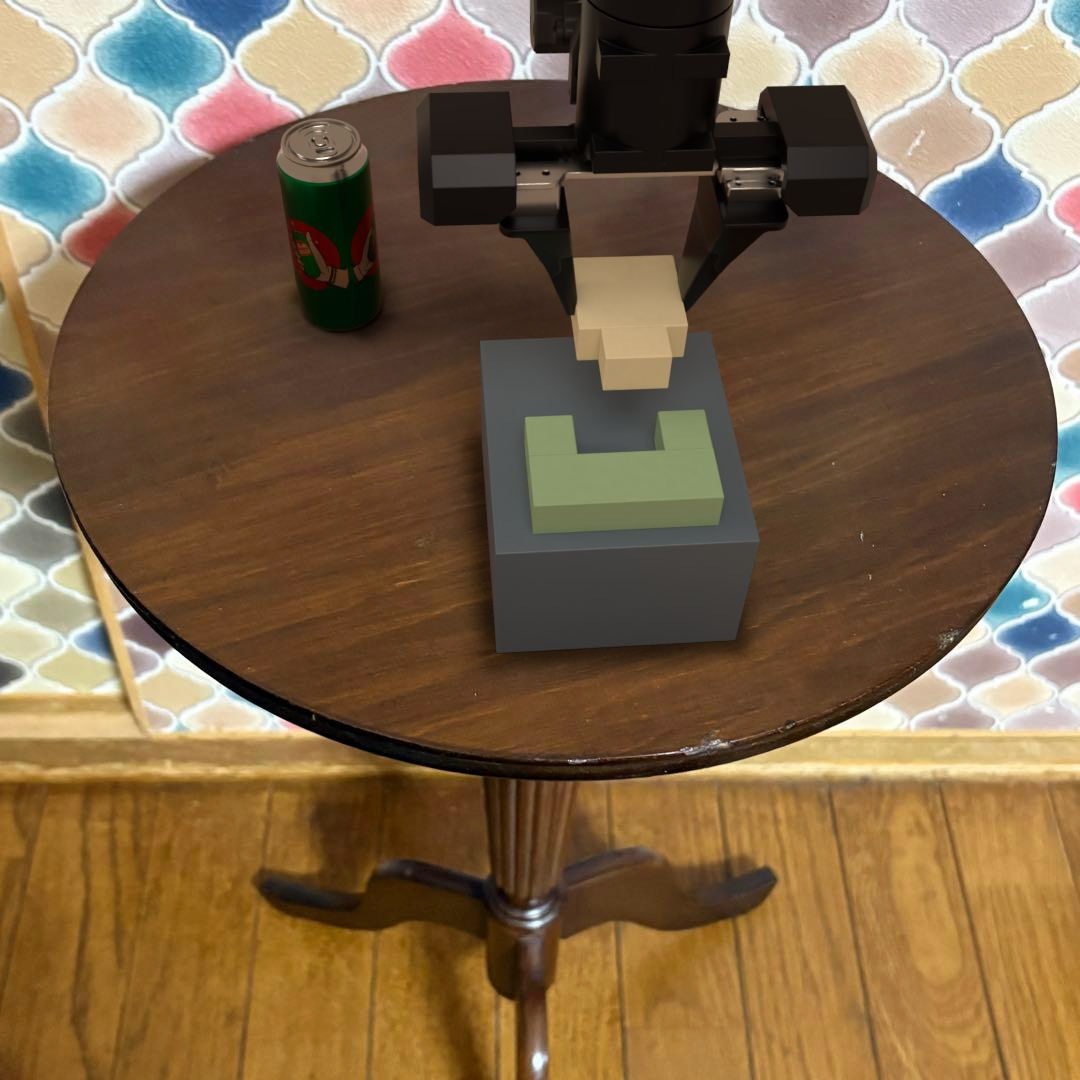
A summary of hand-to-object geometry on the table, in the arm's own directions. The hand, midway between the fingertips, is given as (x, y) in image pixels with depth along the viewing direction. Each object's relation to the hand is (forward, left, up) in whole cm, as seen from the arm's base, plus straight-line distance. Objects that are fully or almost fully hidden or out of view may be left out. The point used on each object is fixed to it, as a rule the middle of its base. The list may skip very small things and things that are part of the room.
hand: (626, 307), depth 60 cm
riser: (+1, +3, -13) cm, 13 cm away
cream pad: (0, 0, -1) cm, 1 cm away
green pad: (+1, +6, -5) cm, 8 cm away
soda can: (+15, -16, -13) cm, 25 cm away
